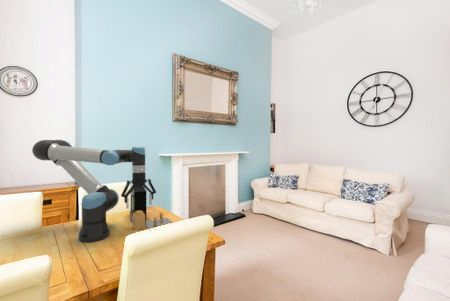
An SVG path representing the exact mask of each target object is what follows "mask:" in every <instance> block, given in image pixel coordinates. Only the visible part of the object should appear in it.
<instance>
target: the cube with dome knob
mask: <svg viewBox="0 0 450 301" xmlns="http://www.w3.org/2000/svg"><path fill="white" fill-rule="evenodd" d="M145 222H146V221H145V214H144V213H143V211H141V210H139V211H135V213H133V220H132V228H133V229H134V231H137V230H143V229H146V226H145Z"/></svg>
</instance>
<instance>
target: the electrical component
mask: <svg viewBox="0 0 450 301" xmlns="http://www.w3.org/2000/svg"><path fill="white" fill-rule="evenodd" d="M139 210H141V211H143V213H144V214H145V222H146V221H147V189H146V188H145V187H144V186H143V187H138V188H137V187H135V188H134V189H133V191H132V192H131V193H130V210H129V214H130V215H131V217H130V221H132V222H133V213H135V211H139Z"/></svg>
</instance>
